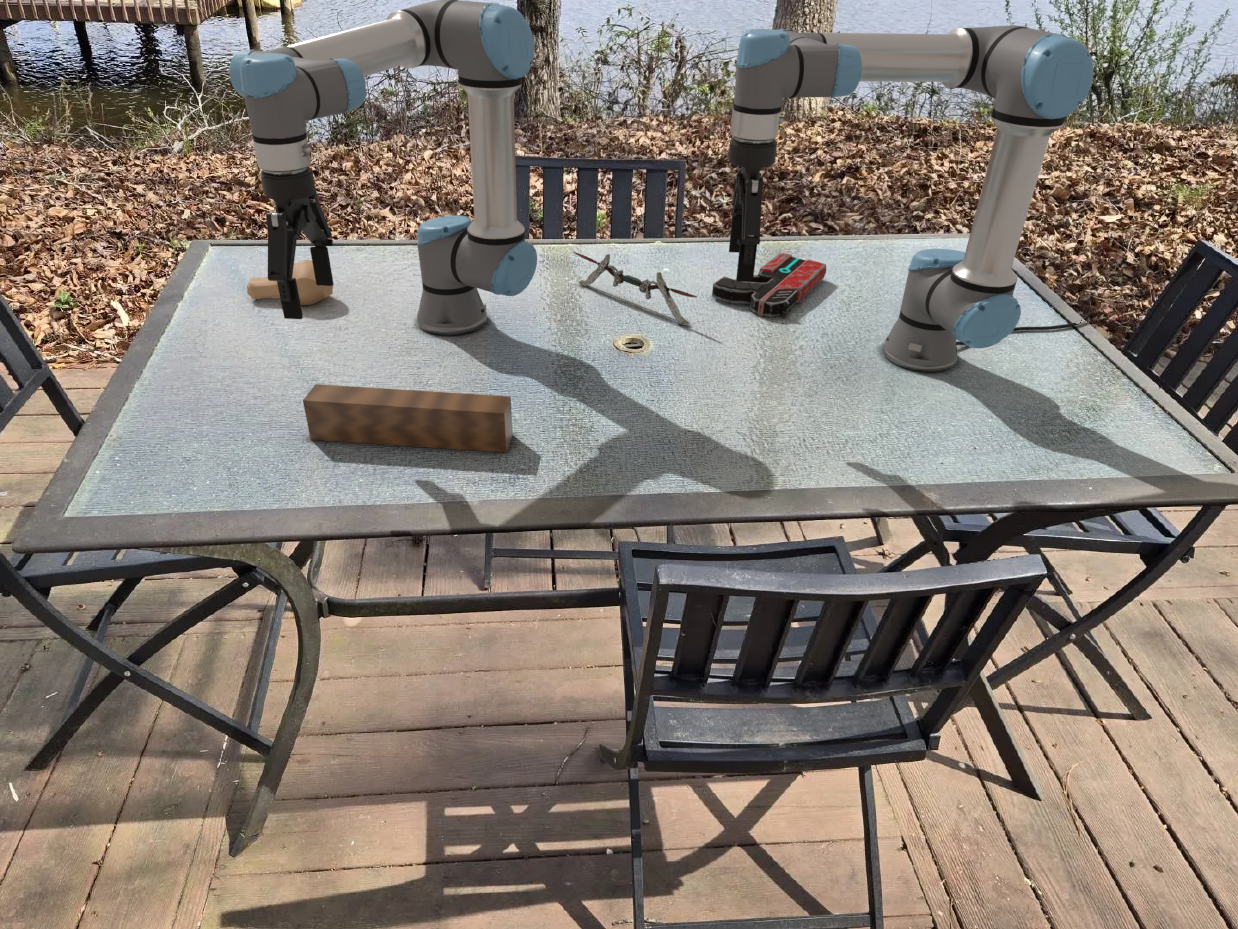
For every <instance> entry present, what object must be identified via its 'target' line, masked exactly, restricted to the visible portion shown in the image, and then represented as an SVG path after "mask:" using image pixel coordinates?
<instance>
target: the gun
mask: <svg viewBox="0 0 1238 929" xmlns="http://www.w3.org/2000/svg"><path fill="white" fill-rule="evenodd" d="M826 273H827V264H826V263H823V262H820V261H816V260H812V259H802V258H799V257H795V256H793V255H792V254H791V253H784V252H780V253H778V254H777V255H775V256H774V257H773V258H771V259H770V260H768V261H767V262H766V263H765V264H763V265H762V266H761V267H760V269H759V271H758V273H757V274H756V275H755V274H754V277H753V282H744V281H736V278H735V279H734V278H731V277H727V276H722V277H720V279H717V281H715V282H713V283H712V291H711V297H713V298H714V299H716V300H719V301H723V302H727V303H730V304H750V305H749V308H750V310H751V312H753V313H755V314H757V315H758V316H760V317H761V316H765V317H770V318H771V317H777V316H780V317H784V318H787V317H788V315H789V311H788V310H790V309H791V308H792V307H793V306H794V305H795V304H798V303H799V302H801V301H802V300H803V299H804V298H805V297H807V296H808V295H809V294H810V293H811V292H812V291H813V290H814V289H815V287H817V285H818V284H820V283H821V282H822V280H823V279H824V278H825V276H826Z"/></svg>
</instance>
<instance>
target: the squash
mask: <svg viewBox="0 0 1238 929" xmlns="http://www.w3.org/2000/svg"><path fill="white" fill-rule="evenodd" d="M292 278H296V283H297V288H298V293H299V299H300V304H301V306H312V305H314V304H316V303H318V302H320V301H322V300H325V299H327V298H328V297H329V296H331V295H333V294H334V292H333V291H334V290H333V289H334V285H333V286H322V285H316V280H315V274H314V268H313V263H312V259H305V260H302V261H300V262H297V263H294V267H293V276H292ZM246 292H247V295H248V296H249V297H250V298H251V299H252V300H260V299H271V298H276V299H280V294H279V289H278V284H277V281H269V280H268V276H266V277H252V278H249V281H248V283H247V285H246Z"/></svg>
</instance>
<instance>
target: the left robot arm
mask: <svg viewBox="0 0 1238 929" xmlns="http://www.w3.org/2000/svg"><path fill="white" fill-rule="evenodd" d="M533 36H534V35H533V32H532V30H531V27H530V24H529V22H528V21H527V19H525V17H524V16H523V14H522V13H521V12H520V11H519V10H518V9H516V8H514V7H512V6H508V5H504V4H500V3H497V2H484V1H472V0H471V1H470V0H432V1H428V2H425V3H421V4H417V5H414V6H410V7H407V8H404V9H398V10H394V11H392V12H391V13H390V14H389V15H388V16H387V18H386V19H385V20H382V21H379V22H375V23H370V24H367V25H363V26H359V27H355V28H352V29H347V30H343V31H339V32H336V33H332V34H329V35H325V36H320V37H317V38H313V39H309V40H305V41H302V42H297V43H294V44H293V43H292V44H289V45H286V46H281V47H278V48H273V49H270V50H263V51H261V50H260V49H255V48H254V49H243V50H239V51H238V52H236V53H235V54H234V56H233V57H232V59H231V61H230V63H229V68H228V74H229V81H230V83H231V85H232V87H233V89H234V90H235V92H236V93H237V94H238V95H239V96H240V97H242V98H244V102H245V107H246V111H247V116H248V120H249V126H250V129H251V134H252V142H253V148H254V151H255V157H256V163H257V167H258V168H259V169H261V170H260V173H259V175H260V180H261V187H262V191H263V195H264V196H265V197H266V198H267V199H269V200H272V201H273V202H274V203H275V212H266V215H265V218H266V225H267V277H268V280H269V281H277V284H278V289H279V294H280V298H279V299H280V303H281V308H282V313H283V318H284V319H289V320H302V319H304V314H303V309H302V305H301V304H300V299H299V293H298V288H297V283H296V278H292V276H293V267H294V264H295V260H296V259H295V258H296V249H297V241H298V240H299V239H300V238H301V233H302V232H303V234H304V235H305V237H306V238H307V239H308V241H309V242H310V243H311V245H312V246H310V247H309V251H310V256H311V261H312V263H313V268H314V274H315V280H316V285H322V286H333V287H334V278H333V272H332V265H331V259H330V254H329V248H328V247H332V246H333V245H334V240H333V239H332V237H333V234H332V230H331V227H330V226H329V224H328V221H327V219H326V216H325V214H324V211H323V208H322V206H321V204H320V202H319V198H318V193H317V190H316V182H315V176H314V171H313V169H312V168H311V167H310V165H311V164H312V161H311V155H310V154H311V152H312V148H311V146H310V145H309V142H308V135H307V129H306V128H307V127H306V122H308V121H312V120H316V119H320V118H321V119H322V118H326V117H331V116H335V115H340V114H343V115H344V114H347V113H348V112H351V111H354V110H356V109H358V108H360V107H362V105H363V103H364V102H365V100H366V96H367V86H366V80H365V77H368V76H372V75H375V74H378V73H381V72H384V71H387V70H388V71H389V70H391V69H394V68H397V67H404V68H406V69H415V68H418V67H424V66H426V67H427V66H430V67H441V68H446V69H452V70H457V77H458V85H459V86H460V87H461V89H462V90H463V91H464V92H465V93H466V95H467V108H468V127H469V128H468V129H469V145H470V164H471V183H472V201H473V220H472V219H471V218H470V217H469V216H466V215H459V214H458V215H443V216H439V217H434V218H430V219H428V220H425V221H423V222H422V223H421V224H419V226H418V227H417V229H414V230H413V234H416V235H417V242H416V244H417V252H418V260H419V267H420V268H419V269H420V275H421V276H420V278H421V284H422V292H421V297H420V302H419V305H418V310H417V315H416V318H417V325H418V326H419V328H420V329H421V330H423V331H424V332H427V333H430V334H433V335H440V336H459V335H465V334H469V333H473V332H476V331H477V330H480V329H481V328H483V327H484V326H485V325H486V323H487V320H488V316H487V304H486V303H485V304H484V302H483V299H482V298H481V295H480V293H479V291H478V289H479V290H483V291H486V292H489V293H492V294H494V295H498V296H499V295H501V296H506V297H514V296H518V295H520V294H522V292H524V291H525V290H526V289H527V288H528V286H530V283H531V281H532V280H533V278H534V275H535V273H536V269H537V267H538V266H537V264H538V252H537V249H536V248H535V246H534V245H533V243H530V242H529V241H527V240H526V229H525V226H524V225H523V224H522V223H521V222H520V221H519V220H518V205H517V203H518V202H517V201H518V200H517V170H516V168H517V166H516V132H515V98H514V97H515V96H514V95H515V94H516V93H517V91H518V90H519V89H520V88H521V87H522V78H524V77H525V76H526V75H527V74H528V73H529V72H530V70H531V67H532V65H531V64H532V63H533V61H534V56H535V42H534V37H533Z"/></svg>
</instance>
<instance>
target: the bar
mask: <svg viewBox="0 0 1238 929" xmlns="http://www.w3.org/2000/svg"><path fill="white" fill-rule="evenodd" d="M302 403H303V409H304V413H305V418H306V424H307V428H308V433H309V438H310V439H309V440H311V441H326V442H338V443H339V442H340V443H354V444H355V443H357V444H370V445H371V444H372V445H384V446H385V445H386V446H398V447H399V446H401V447H402V446H403V447H415V448H416V447H417V448H428V449H429V448H430V449H443V450H445V449H447V450H462V451H477V452H488V453H489V452H491V453H492V452H493V453H506V454H507V452H508V450H509V447H510V444H511V442H512V438H513V436H514V434H513V433H514V432H513V417H512V416H513V415H512V397H511V396H509V395H508V396H507V395H494V394H480V393H479V394H477V393H464V392H463V393H462V392H460V393H459V392H447V391H446V392H445V391H432V390H431V391H430V390H418V389H417V390H415V389H399V388H383V387H369V386H368V387H366V386H354V385H353V386H352V385H334V384H321V383H315V384H314V385H313V386H312V387H311V389H310V391H309V392H307V395H305V397H304V398H303V399H302Z"/></svg>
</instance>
